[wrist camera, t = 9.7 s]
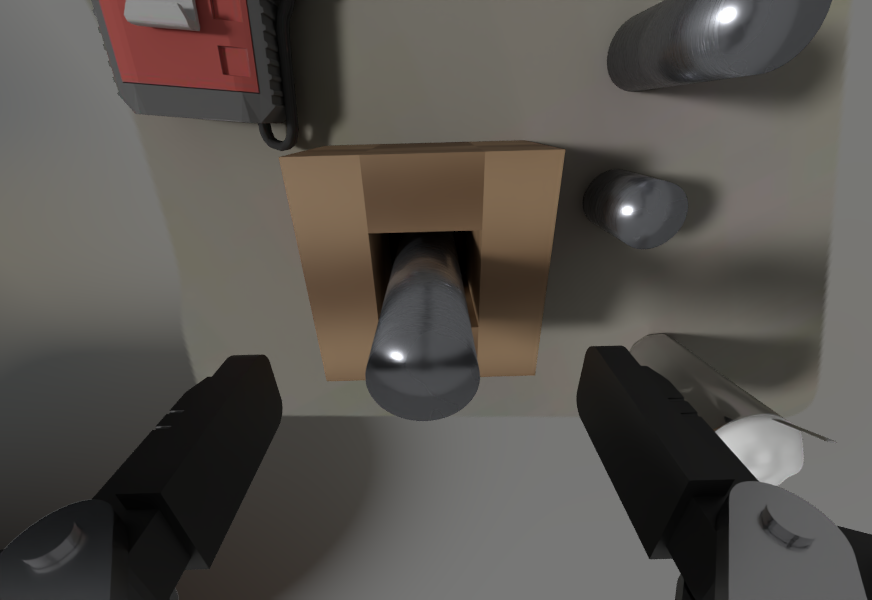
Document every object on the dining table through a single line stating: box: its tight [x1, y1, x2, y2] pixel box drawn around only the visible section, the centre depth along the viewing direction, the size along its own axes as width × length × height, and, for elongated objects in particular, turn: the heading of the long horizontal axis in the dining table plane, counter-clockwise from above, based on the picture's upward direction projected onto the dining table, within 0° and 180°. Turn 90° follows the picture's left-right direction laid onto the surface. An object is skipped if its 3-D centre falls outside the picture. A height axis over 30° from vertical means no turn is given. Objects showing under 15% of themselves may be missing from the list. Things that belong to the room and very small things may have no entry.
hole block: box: [279, 140, 565, 381], centre depth 17 cm, size 10×10×6 cm
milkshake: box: [630, 333, 837, 486], centre depth 19 cm, size 4×5×10 cm
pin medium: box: [607, 0, 832, 91], centre depth 13 cm, size 3×3×7 cm
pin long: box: [365, 231, 480, 421], centre depth 14 cm, size 3×3×12 cm
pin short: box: [583, 169, 688, 249], centre depth 17 cm, size 3×3×4 cm
